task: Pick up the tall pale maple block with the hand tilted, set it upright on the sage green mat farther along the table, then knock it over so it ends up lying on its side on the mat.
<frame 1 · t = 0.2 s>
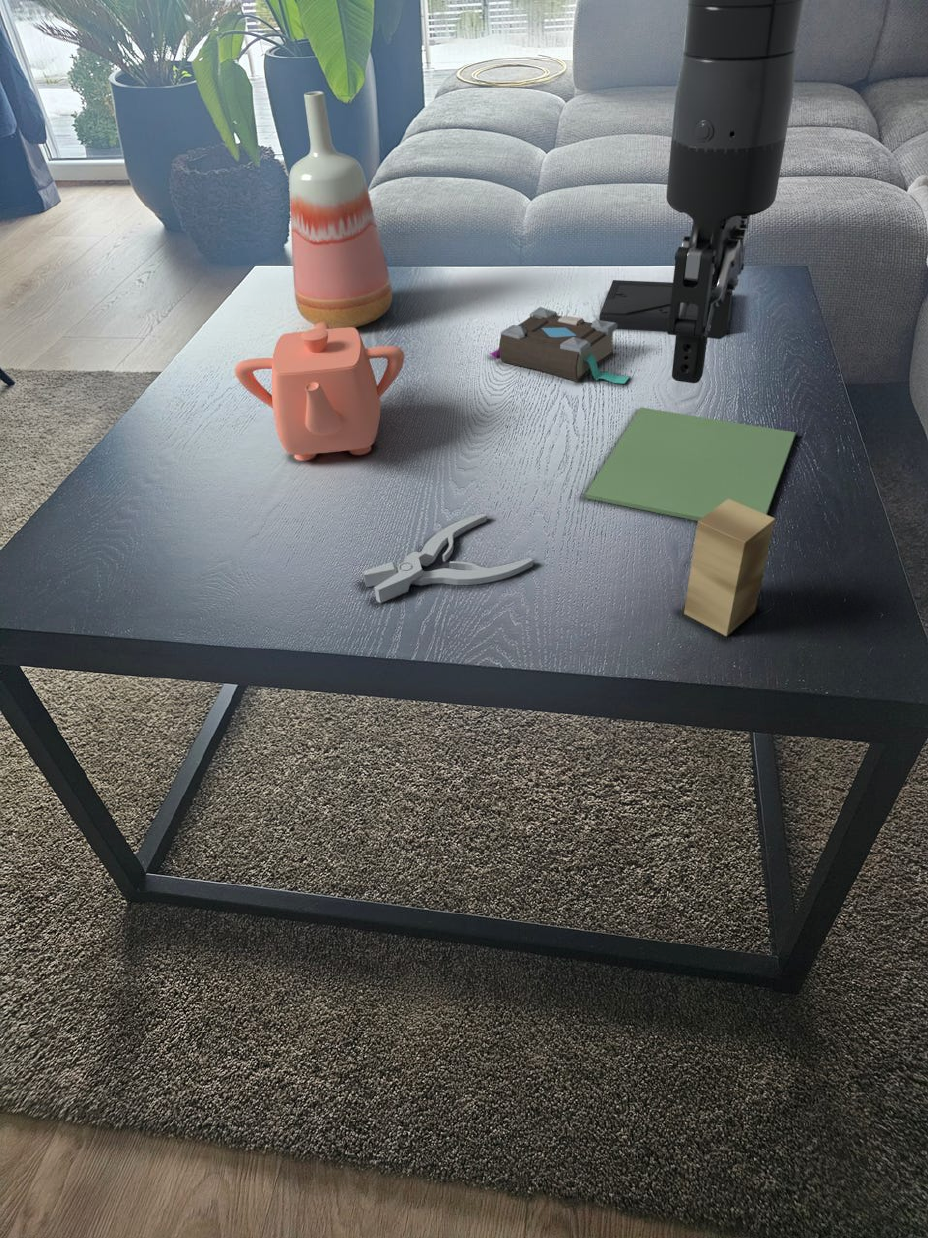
hand: (699, 357, 69), 20 cm above the table, tool pointing down, fingers open, 8 cm apart
picture frame: (666, 313, 125), on the table
teapot: (333, 443, 102), on the table
pliers: (441, 568, 83), on the table
vase: (347, 318, 130), on the table
mat: (693, 466, 94), on the table
block: (719, 612, 76), on the table
book: (569, 360, 115), on the table
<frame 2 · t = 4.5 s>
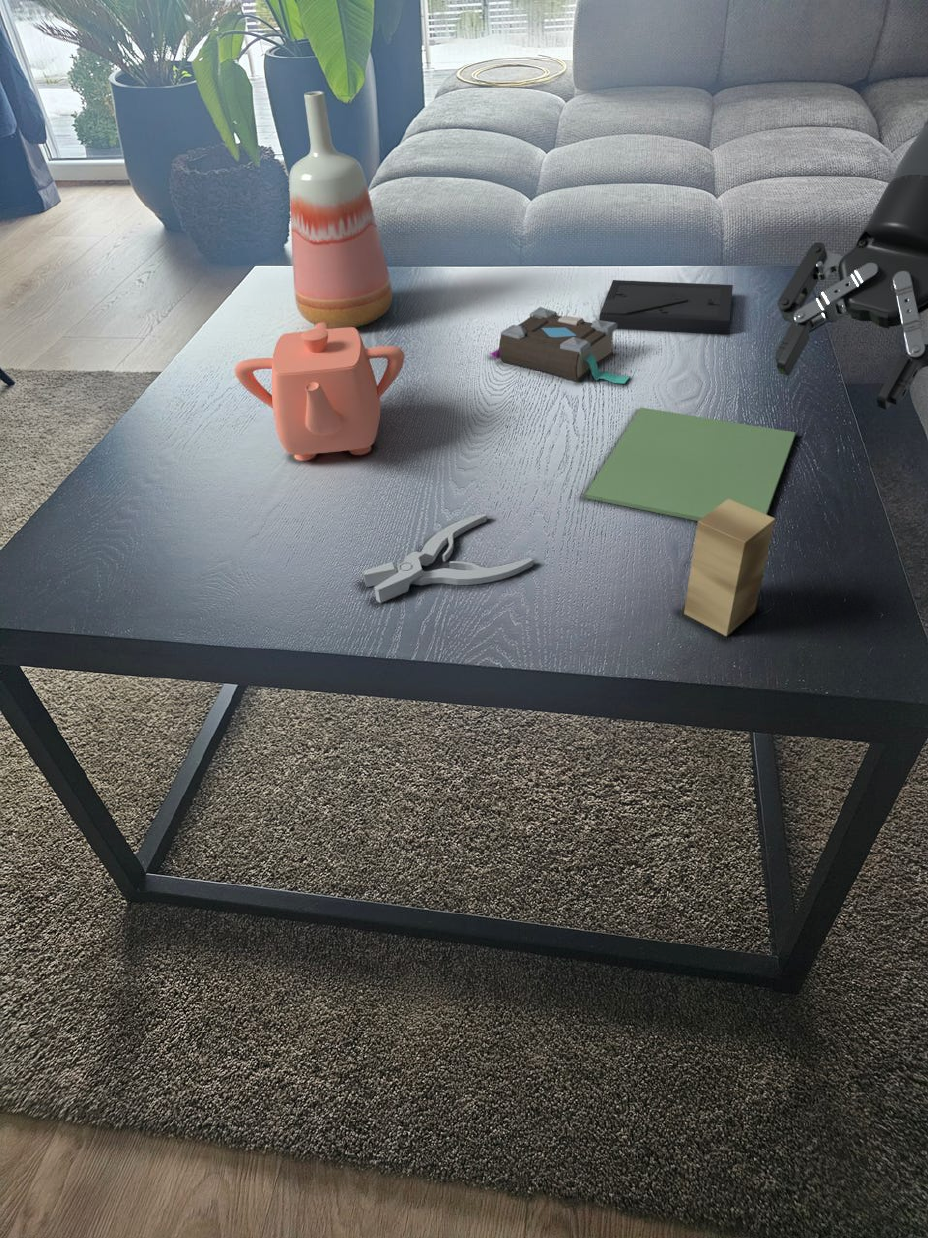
hand: (830, 387, 70), 17 cm above the table, tool tilted 45°, fingers open, 8 cm apart
nothing on the table moved.
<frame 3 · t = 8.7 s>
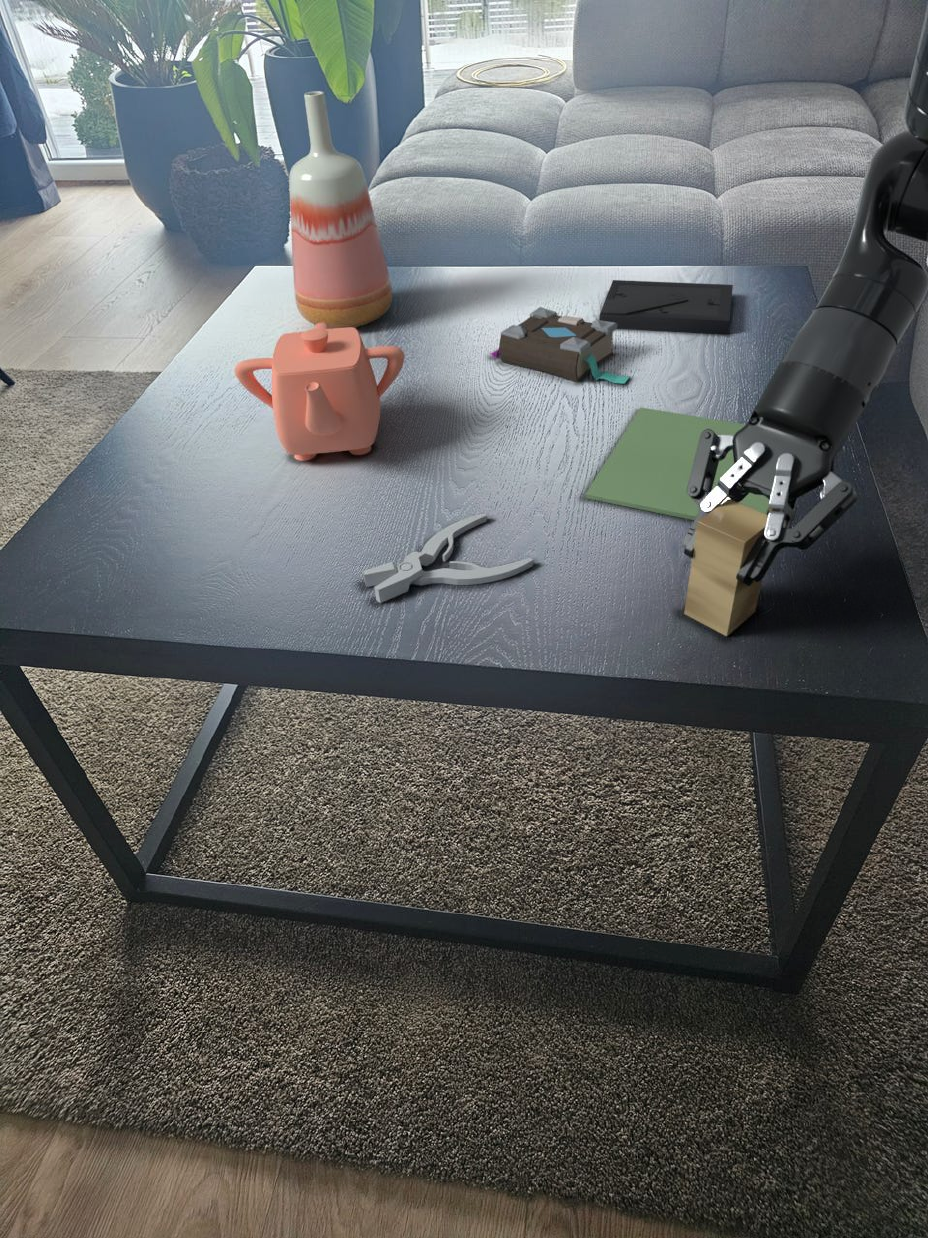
hand: (716, 568, 71), 6 cm above the table, tool tilted 45°, fingers closed on block, 4 cm apart
block: (719, 613, 76), on the table, touching gripper
everything else where it was.
when the fingers open (7 cm above the table, at t = 18.2 s): block stays where it is, resting on mat.
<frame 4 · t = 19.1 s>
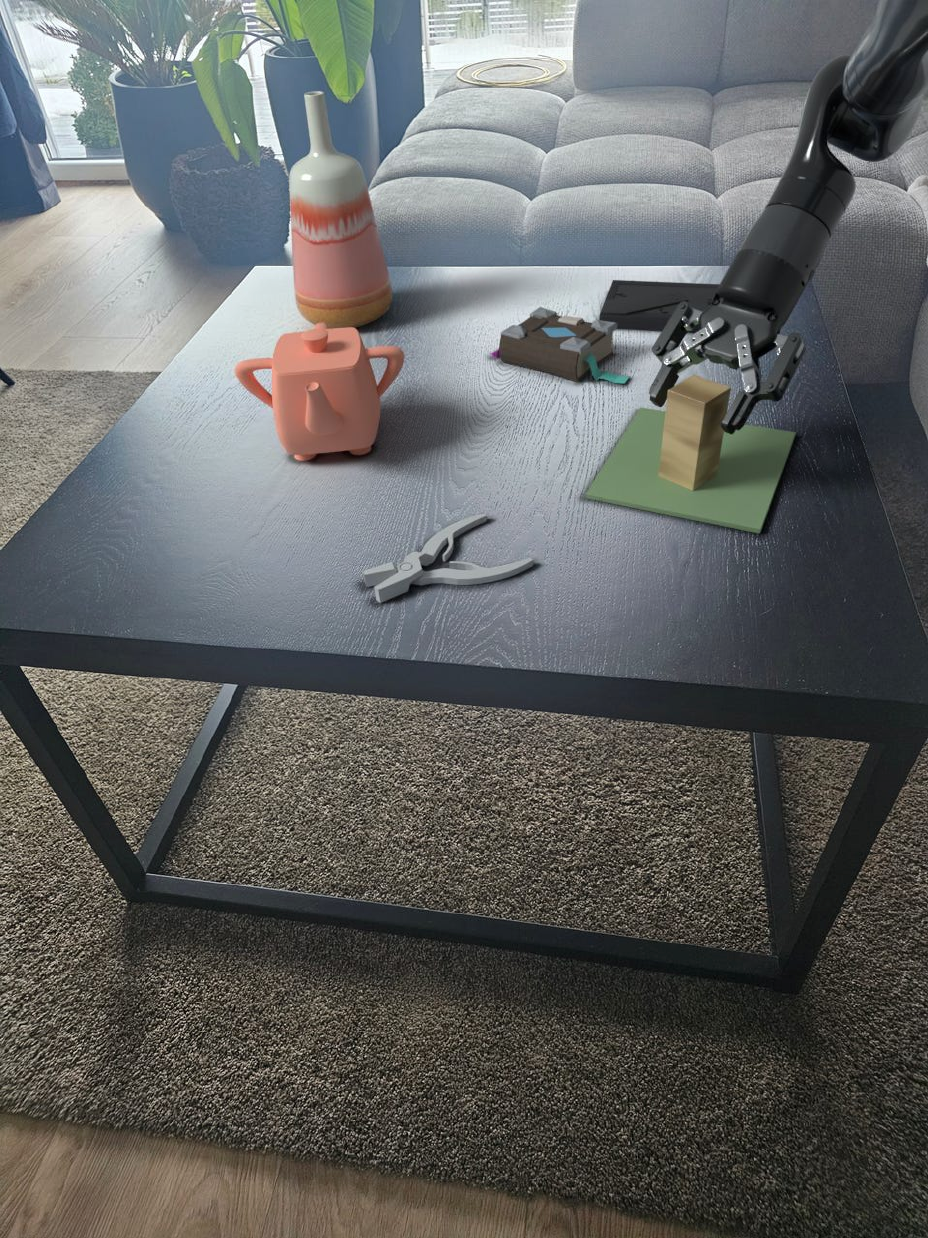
hand: (689, 416, 86), 8 cm above the table, tool tilted 45°, fingers open, 8 cm apart
block: (687, 475, 91), point 1 cm above the table, touching mat
everything else where it was.
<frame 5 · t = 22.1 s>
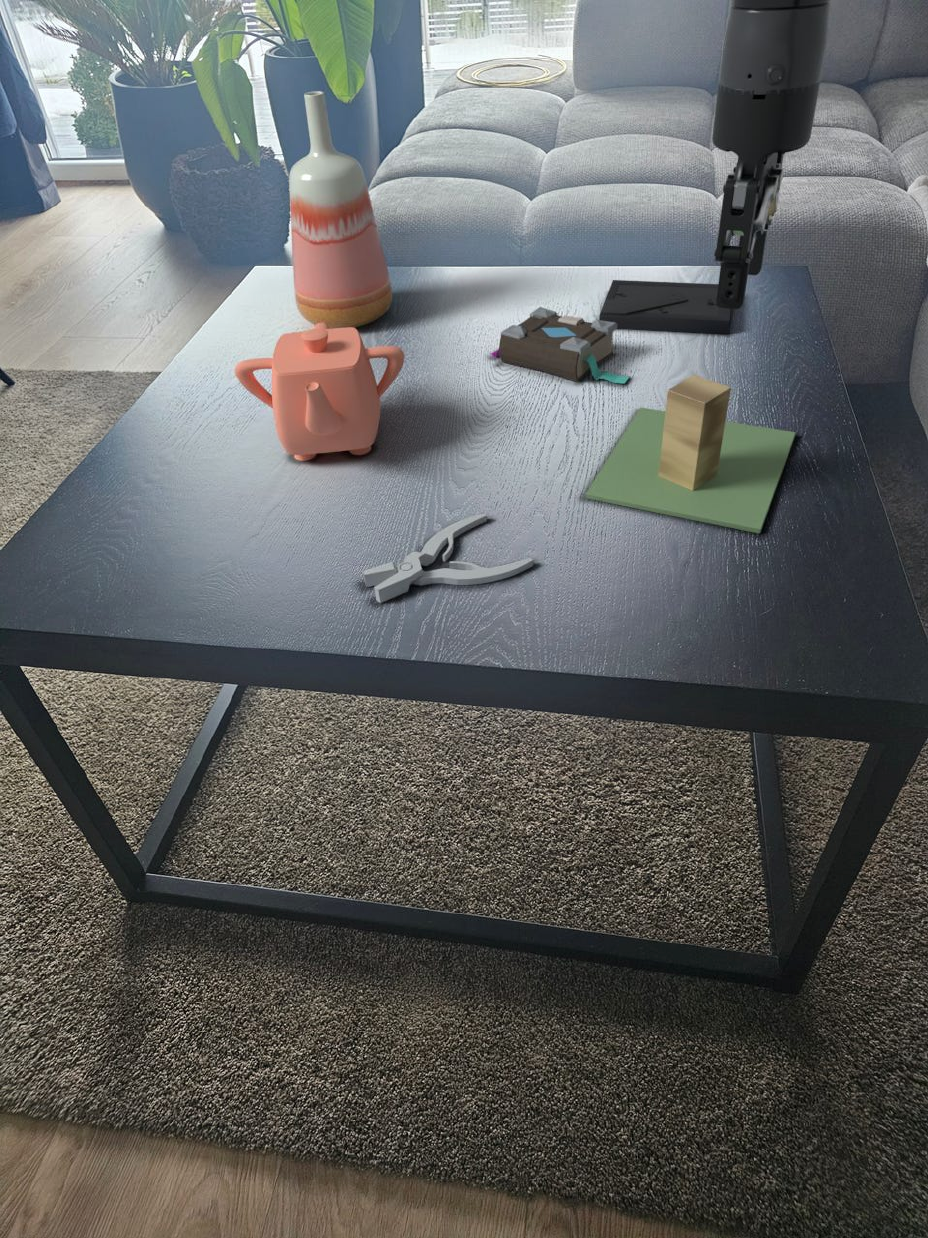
hand: (738, 289, 76), 21 cm above the table, tool pointing down, fingers open, 8 cm apart
nothing on the table moved.
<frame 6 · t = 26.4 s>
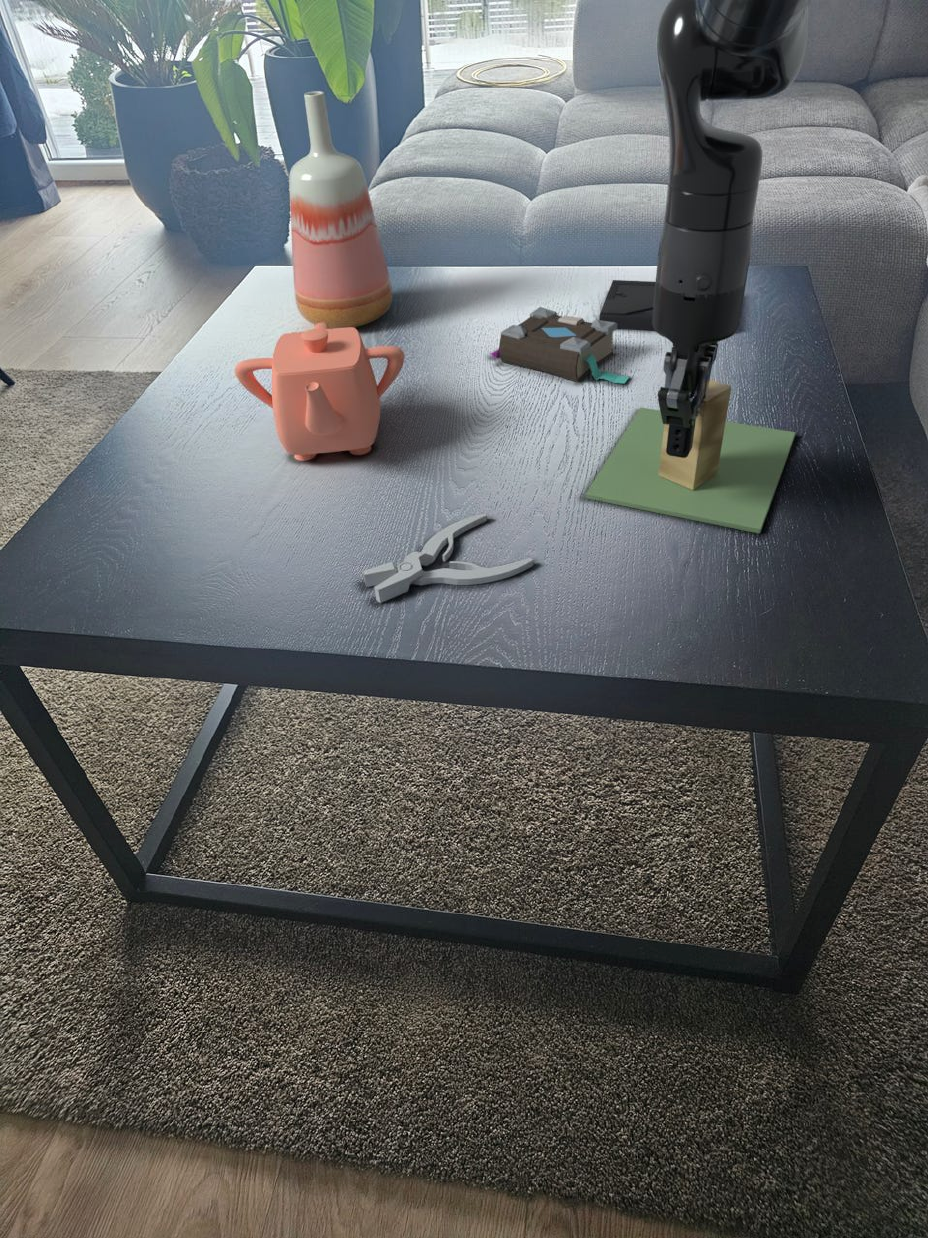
hand: (678, 453, 84), 6 cm above the table, tool pointing down, fingers closed
block: (687, 474, 91), point 1 cm above the table, touching gripper, hand, mat
everything else where it was.
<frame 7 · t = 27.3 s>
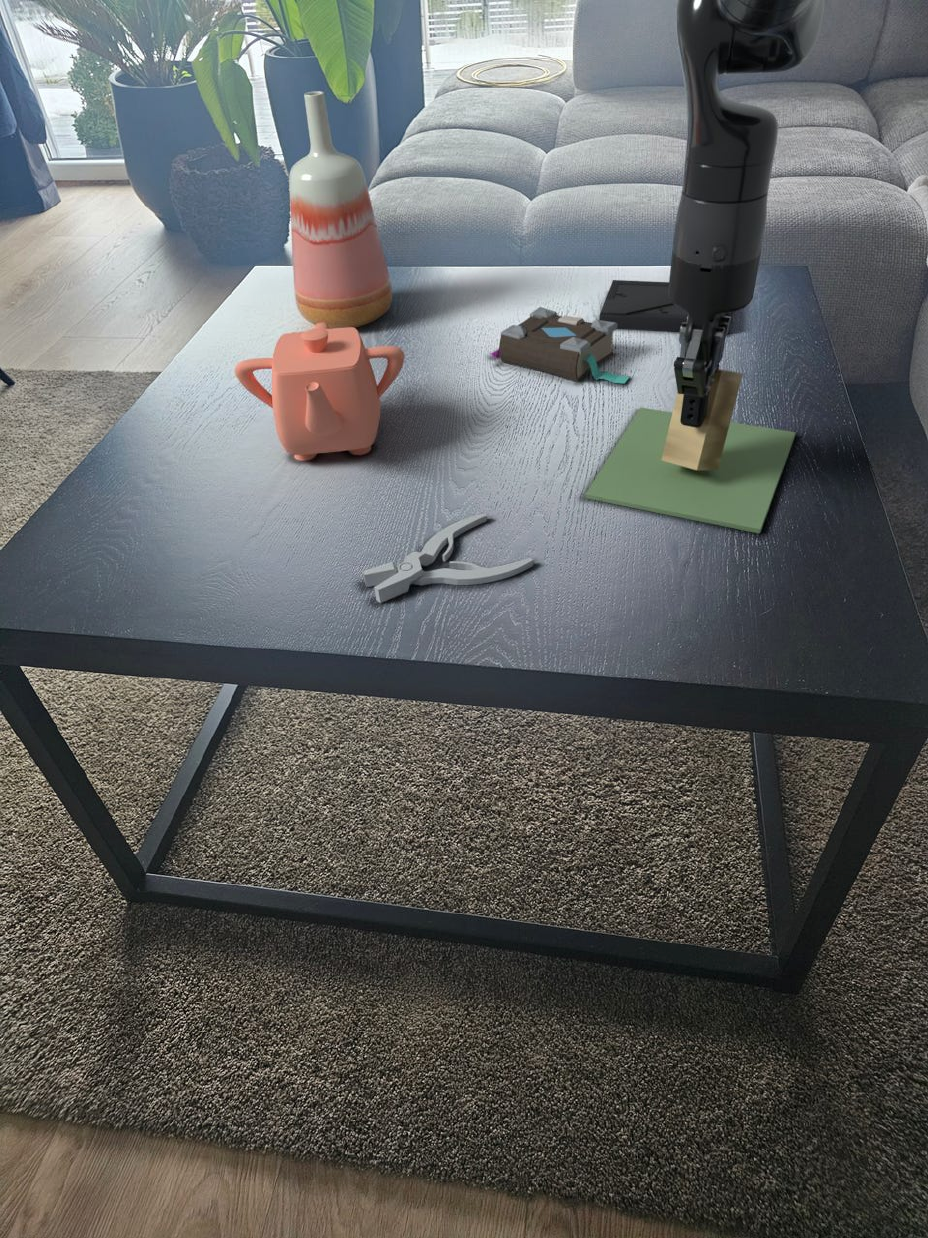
hand: (692, 422, 86), 7 cm above the table, tool pointing down, fingers closed
block: (689, 465, 91), point 2 cm above the table, tilted 24°, touching gripper, hand, mat
everything else where it was.
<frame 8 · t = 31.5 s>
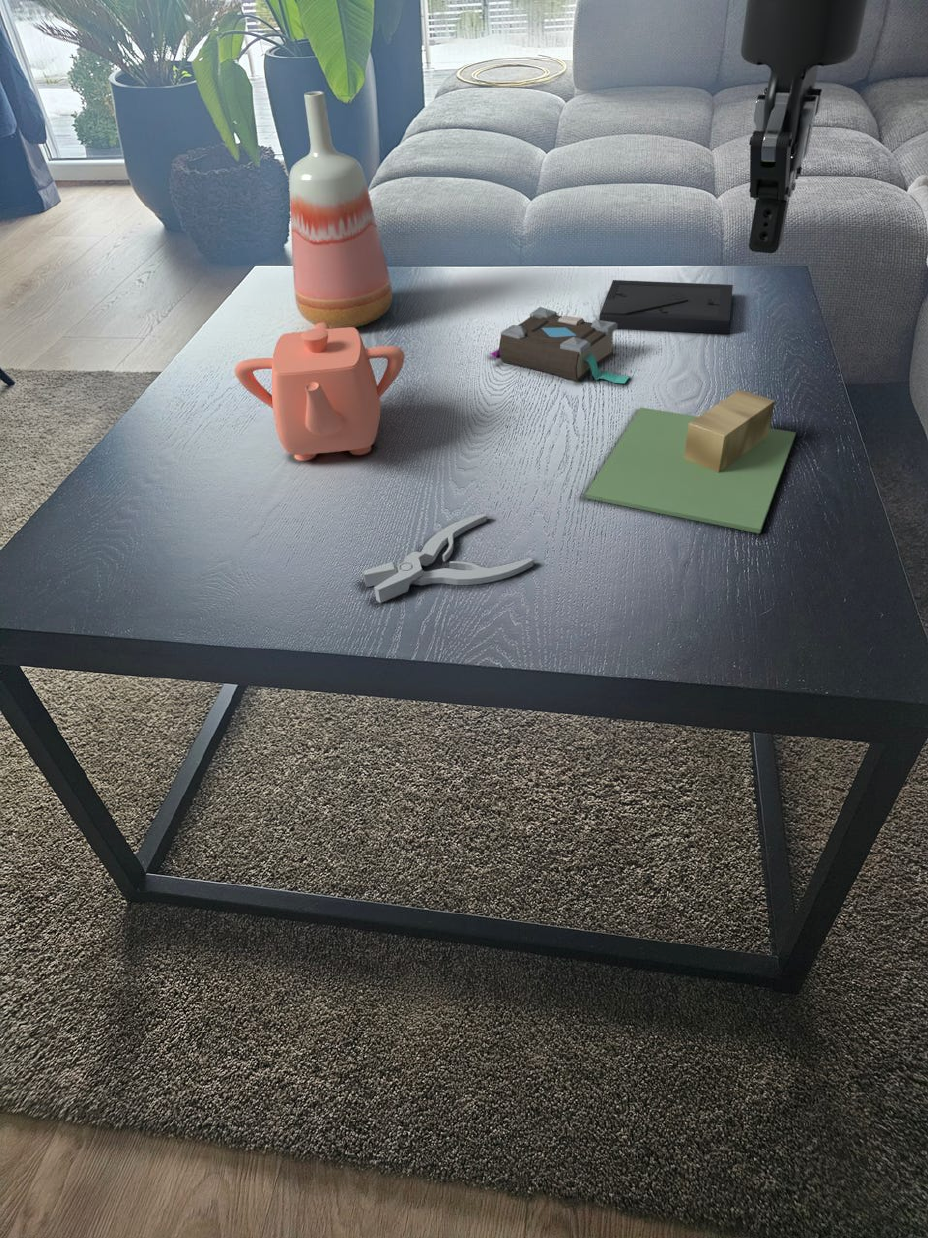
hand: (764, 249, 67), 27 cm above the table, tool pointing down, fingers closed
block: (703, 448, 91), point 3 cm above the table, tilted 90°, touching mat
everything else where it was.
at the end: block inside the target area on the mat (1.1 cm from its centre), point 2.8 cm above the mat's base; block tilted 90°; the gripper is holding nothing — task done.
